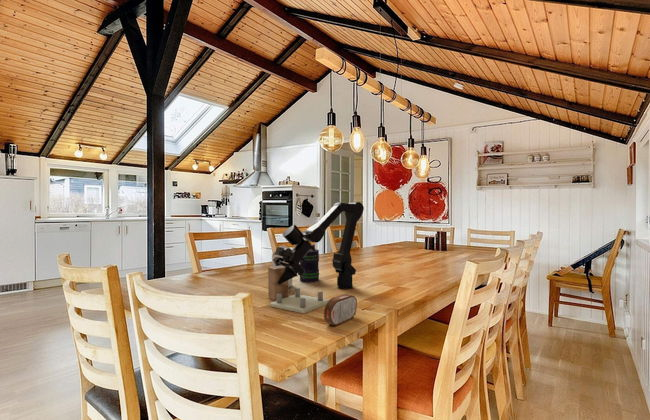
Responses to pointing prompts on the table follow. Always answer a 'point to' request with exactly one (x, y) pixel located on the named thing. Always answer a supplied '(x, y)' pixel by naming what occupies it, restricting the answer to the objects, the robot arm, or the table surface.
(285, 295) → the walnut block
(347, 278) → the robot arm
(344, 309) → the tin
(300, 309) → the peg stand
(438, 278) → the table surface
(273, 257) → the milk carton
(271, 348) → the table surface
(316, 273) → the dark ribbed canister
